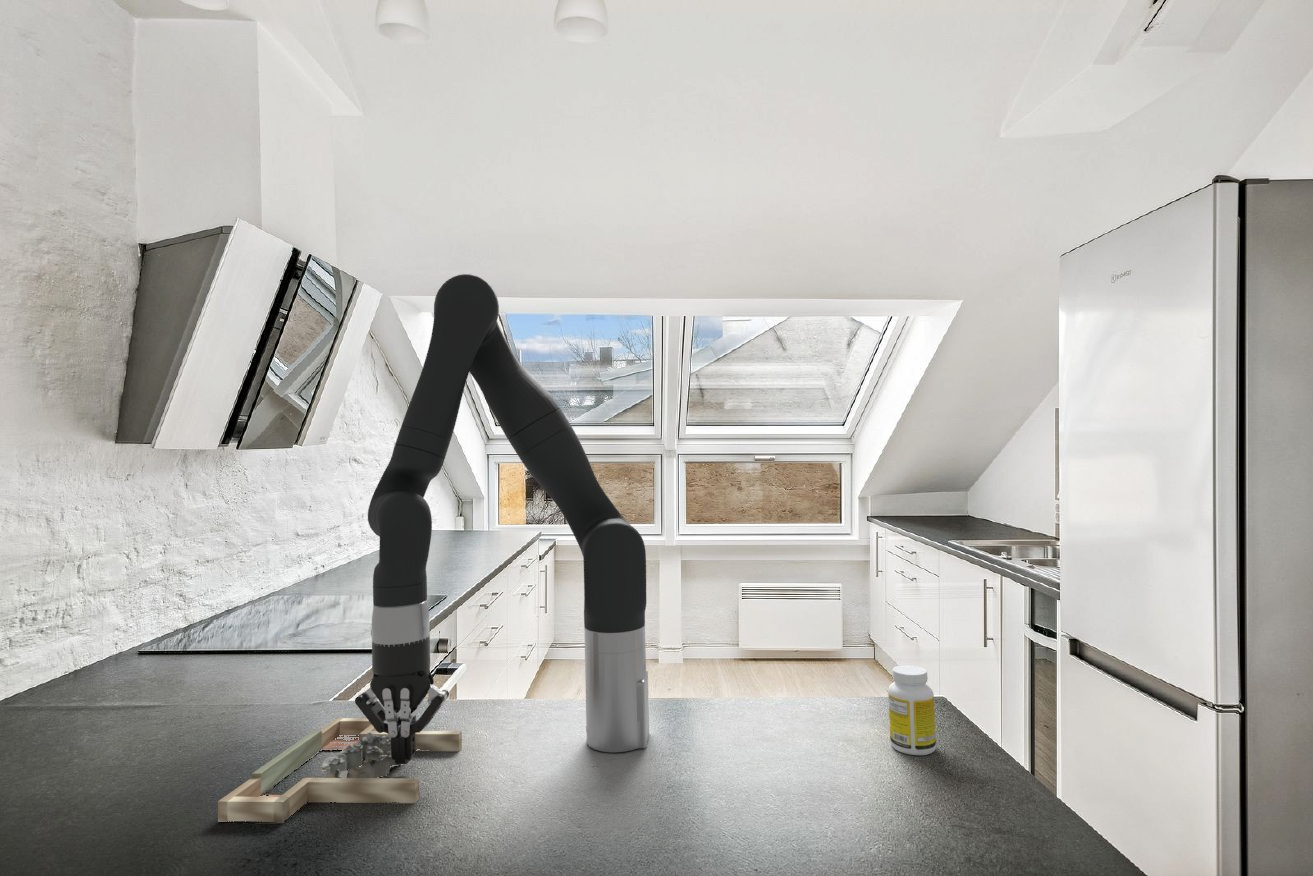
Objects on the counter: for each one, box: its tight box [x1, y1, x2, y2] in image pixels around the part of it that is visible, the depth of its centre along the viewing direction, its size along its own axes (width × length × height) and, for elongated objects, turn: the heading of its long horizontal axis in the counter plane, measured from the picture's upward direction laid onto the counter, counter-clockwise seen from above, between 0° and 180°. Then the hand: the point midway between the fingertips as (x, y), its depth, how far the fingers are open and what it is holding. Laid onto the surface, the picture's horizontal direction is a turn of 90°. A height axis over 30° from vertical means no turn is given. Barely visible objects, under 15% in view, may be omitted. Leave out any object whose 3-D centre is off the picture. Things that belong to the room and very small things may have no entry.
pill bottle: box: [887, 665, 937, 756], centre depth 98 cm, size 6×6×11 cm
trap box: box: [217, 717, 463, 824], centre depth 94 cm, size 22×26×3 cm
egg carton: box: [320, 732, 402, 778], centre depth 94 cm, size 11×8×4 cm
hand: (403, 761), depth 94 cm, fingers closed
